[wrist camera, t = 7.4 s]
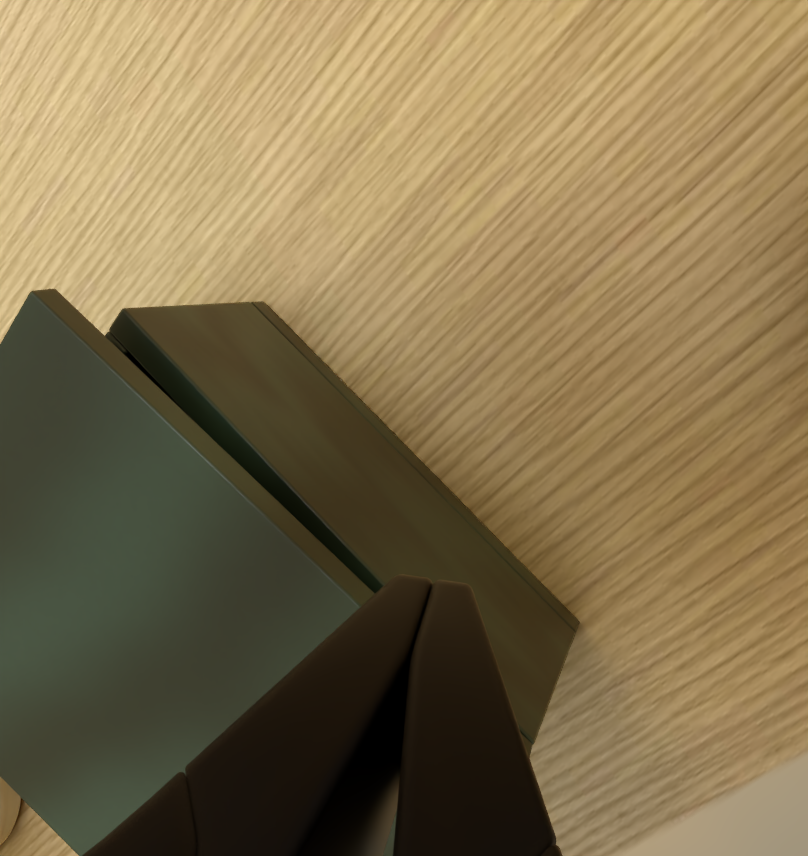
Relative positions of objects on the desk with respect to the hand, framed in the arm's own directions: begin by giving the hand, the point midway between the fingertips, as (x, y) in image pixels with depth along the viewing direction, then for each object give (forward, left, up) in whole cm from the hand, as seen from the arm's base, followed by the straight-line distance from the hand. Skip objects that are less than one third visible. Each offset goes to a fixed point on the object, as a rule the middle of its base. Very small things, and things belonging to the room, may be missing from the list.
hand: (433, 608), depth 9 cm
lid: (+3, +12, -7) cm, 14 cm away
